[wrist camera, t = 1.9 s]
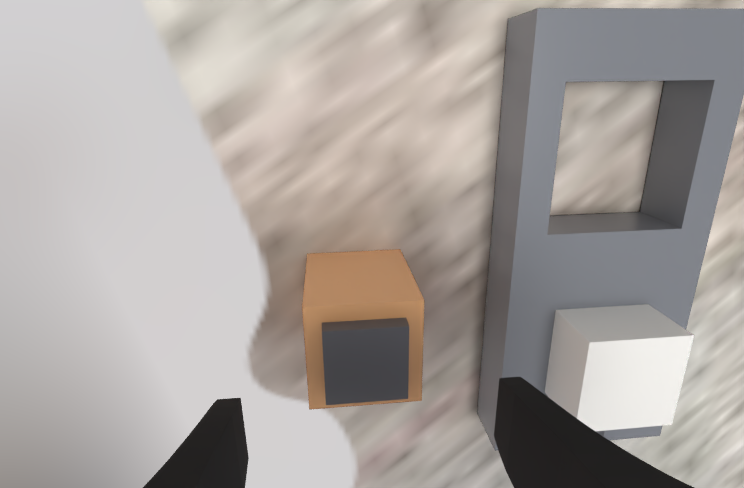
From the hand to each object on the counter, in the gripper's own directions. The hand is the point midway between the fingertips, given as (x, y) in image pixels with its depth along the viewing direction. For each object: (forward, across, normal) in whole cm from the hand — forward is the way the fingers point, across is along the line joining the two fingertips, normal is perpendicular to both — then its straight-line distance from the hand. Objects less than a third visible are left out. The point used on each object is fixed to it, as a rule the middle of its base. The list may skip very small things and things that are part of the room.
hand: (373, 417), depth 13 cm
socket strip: (+8, -10, -1) cm, 13 cm away
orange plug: (+8, 0, 0) cm, 8 cm away
